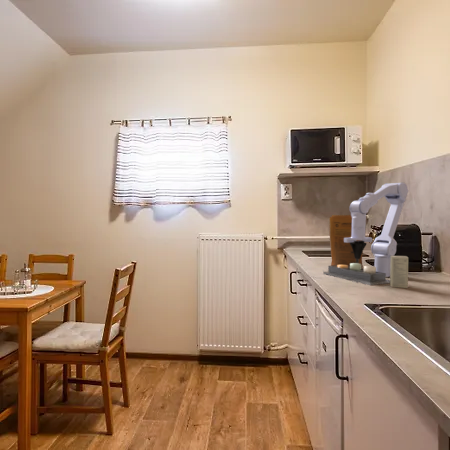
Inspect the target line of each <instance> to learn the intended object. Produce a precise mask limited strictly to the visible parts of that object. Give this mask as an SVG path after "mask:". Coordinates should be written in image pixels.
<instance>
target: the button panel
mask: <svg viewBox="0 0 450 450" xmlns="http://www.w3.org/2000/svg"><path fill="white" fill-rule="evenodd" d="M327 267H328V270H327V271H323V275H326V276H331V277H335V278H338V279H339V278H340V279H342V280H348V281H352V282H356V283H359V284H364V285H368V286H376V285H383V284H385V285H386V284H390V279H386V278H387V277H386V273H382V272H377V271H376V273H371V274H370V273H365V272H364V268H363V267H362V268H361V270H357V271H355V270H350V266H348V267H347V268H341V267H337V265H328V266H327Z"/></svg>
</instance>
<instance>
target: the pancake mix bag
mask: <svg viewBox="0 0 450 450" xmlns="http://www.w3.org/2000/svg"><path fill="white" fill-rule="evenodd" d="M367 220H368V216H367V215H366V224H368V223H367ZM366 228H367V226H366V227H365V231H366ZM358 230H359V229H358ZM328 231H329V232H328V233H329V234H328V235H329V242H330V243H329V246H330V257H331V263H330V266H332V265H348V266H350V263H359V264H361V268H362V269H363V268H364V266H363V253H364V251H363V252H362V255H361V258H360V259H356V258H355V256H354V252H353V249H352V247H351V245H350V242H349V243H346V242H344V238H350V237H351V235H352V217H351V214H332V215H331V216H329V217H328ZM356 241H362V240H356Z"/></svg>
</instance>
